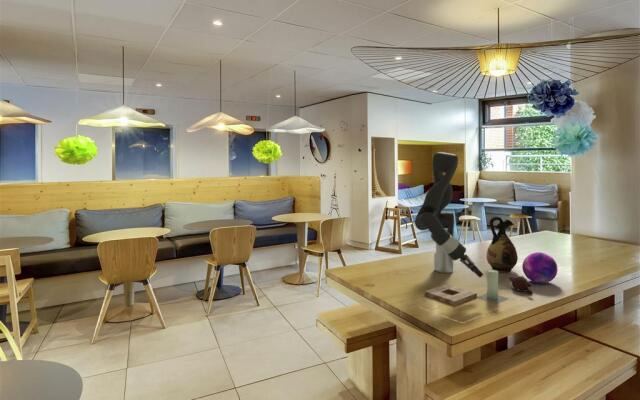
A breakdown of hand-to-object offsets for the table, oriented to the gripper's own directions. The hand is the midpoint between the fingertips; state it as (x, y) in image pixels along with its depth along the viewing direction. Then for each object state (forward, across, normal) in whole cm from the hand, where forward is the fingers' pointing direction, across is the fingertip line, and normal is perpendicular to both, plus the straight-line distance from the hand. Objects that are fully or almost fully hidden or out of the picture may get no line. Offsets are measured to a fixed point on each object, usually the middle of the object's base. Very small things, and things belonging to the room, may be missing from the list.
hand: (479, 273), depth 167 cm
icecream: (+23, +13, -7) cm, 27 cm away
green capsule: (+12, 0, +4) cm, 12 cm away
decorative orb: (+33, +25, -16) cm, 44 cm away
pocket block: (0, +1, +17) cm, 17 cm away
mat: (+12, 0, +4) cm, 13 cm away
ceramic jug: (+24, +45, -7) cm, 51 cm away
